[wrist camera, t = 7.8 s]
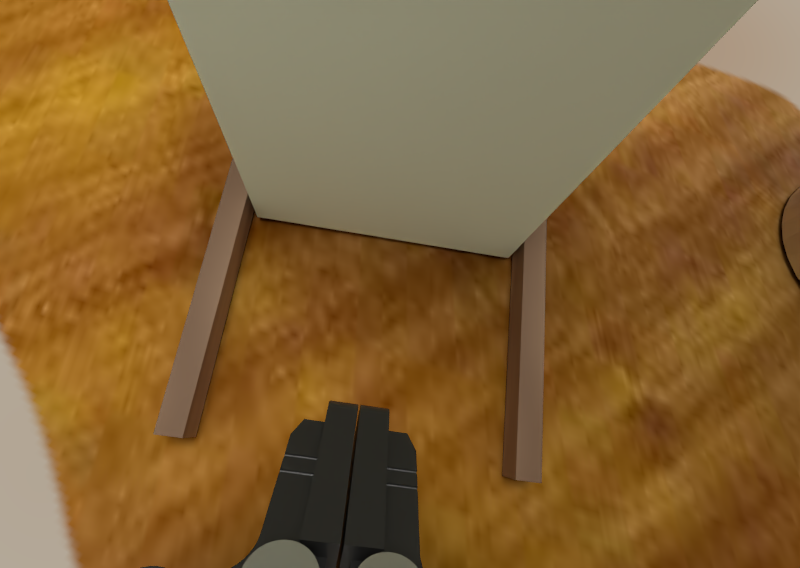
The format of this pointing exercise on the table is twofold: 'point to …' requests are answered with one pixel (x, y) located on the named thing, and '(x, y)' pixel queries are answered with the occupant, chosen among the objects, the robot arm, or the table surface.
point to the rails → (215, 299)
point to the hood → (436, 104)
